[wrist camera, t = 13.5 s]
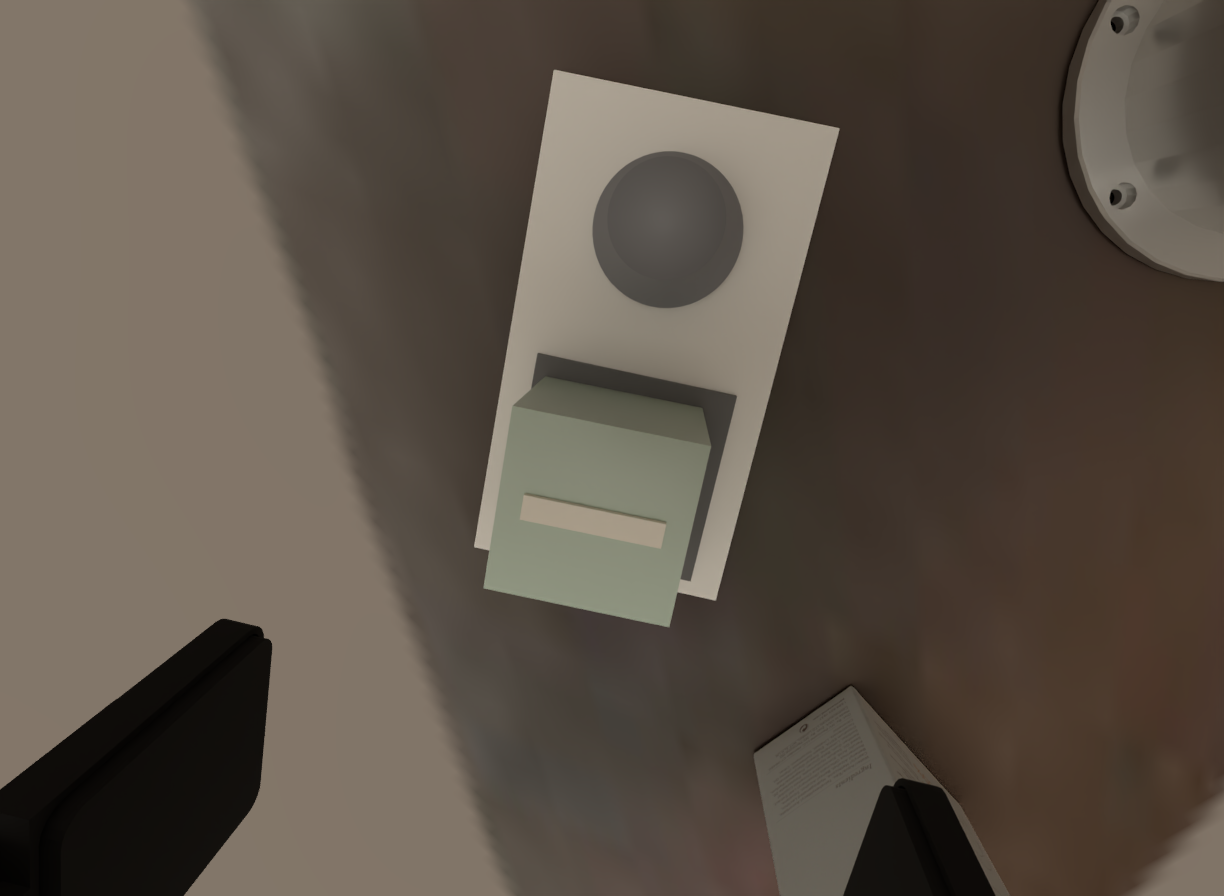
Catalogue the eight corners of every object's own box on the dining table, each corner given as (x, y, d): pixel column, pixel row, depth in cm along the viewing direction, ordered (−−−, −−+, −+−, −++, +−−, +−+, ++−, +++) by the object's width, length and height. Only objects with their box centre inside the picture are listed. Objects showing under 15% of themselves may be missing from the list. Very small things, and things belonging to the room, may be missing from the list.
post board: (560, 80, 27) (502, -17, 18) (830, 135, 27) (915, 67, 17) (483, 534, 31) (405, 645, 22) (713, 584, 31) (732, 719, 22)
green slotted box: (702, 407, 27) (711, 447, 21) (669, 554, 29) (669, 630, 23) (545, 376, 28) (511, 407, 22) (520, 523, 29) (481, 590, 23)
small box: (750, 749, 33) (786, 967, 23) (852, 679, 32) (939, 876, 21) (860, 868, 34) (942, 1127, 24) (963, 805, 33) (1096, 1049, 23)
